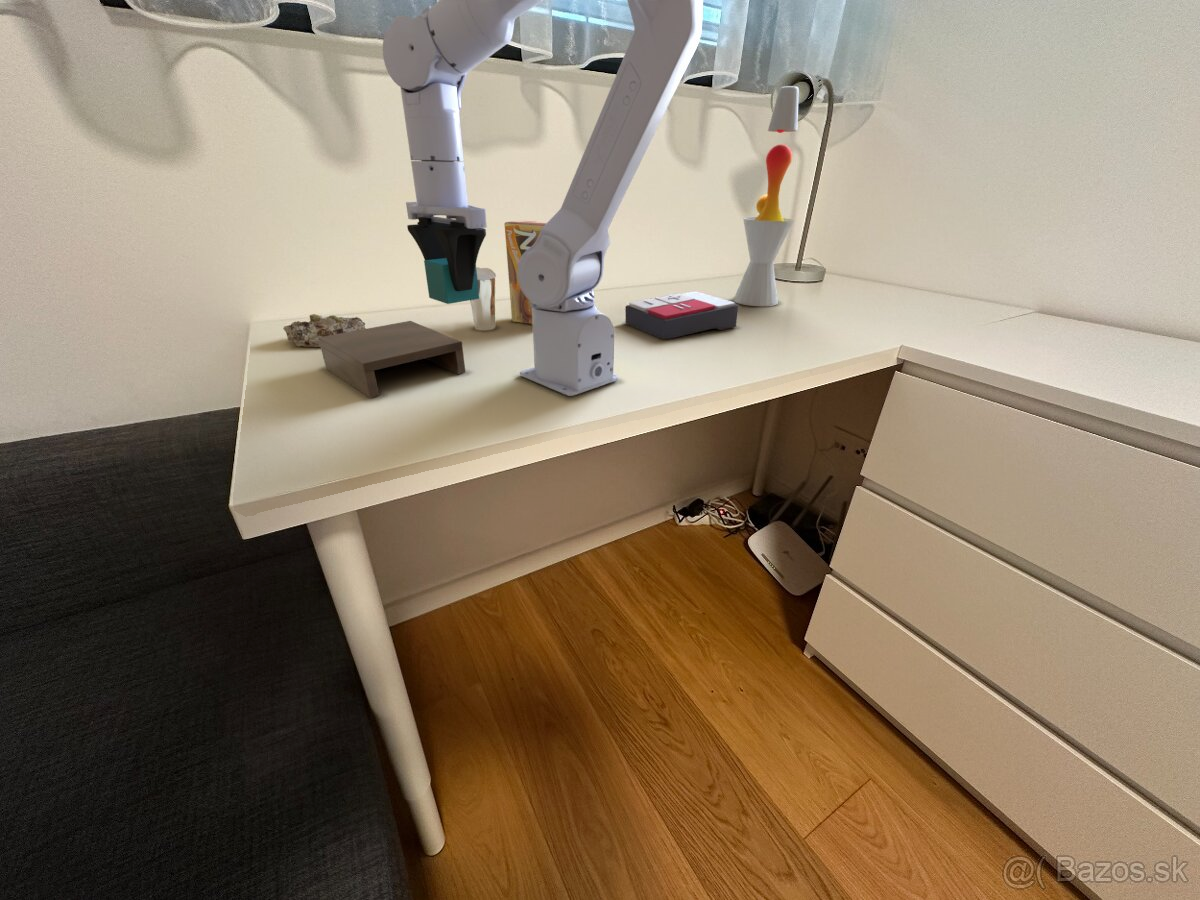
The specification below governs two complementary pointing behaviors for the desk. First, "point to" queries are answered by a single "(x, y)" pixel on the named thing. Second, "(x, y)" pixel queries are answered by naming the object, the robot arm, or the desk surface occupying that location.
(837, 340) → the desk surface
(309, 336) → the mineral rock
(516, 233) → the candy box
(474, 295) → the cube
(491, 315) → the milkshake
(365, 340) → the shelf
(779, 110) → the lava lamp
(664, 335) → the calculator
